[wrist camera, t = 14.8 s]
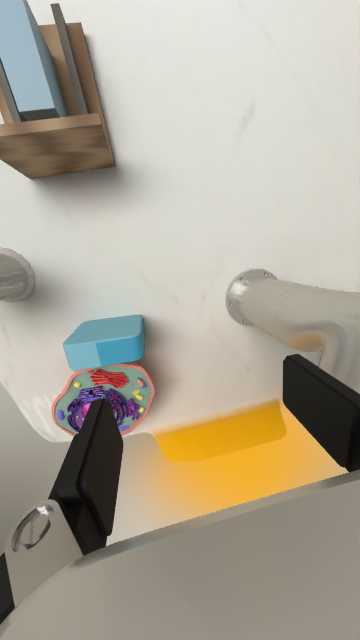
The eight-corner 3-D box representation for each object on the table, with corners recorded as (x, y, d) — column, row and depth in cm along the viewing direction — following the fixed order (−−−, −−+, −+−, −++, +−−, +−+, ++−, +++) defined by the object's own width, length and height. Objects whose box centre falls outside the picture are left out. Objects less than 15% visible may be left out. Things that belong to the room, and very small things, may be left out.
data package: (88, 341, 42) (67, 372, 31) (82, 321, 41) (58, 346, 30) (144, 333, 44) (144, 360, 33) (141, 313, 42) (140, 334, 31)
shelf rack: (84, 34, 29) (46, -101, 18) (115, 166, 34) (101, 124, 23) (-21, 42, 27) (-130, -98, 16) (29, 178, 32) (-29, 139, 22)
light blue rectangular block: (52, 55, 28) (17, -19, 20) (76, 143, 31) (54, 107, 23) (22, 58, 27) (-26, -17, 20) (50, 147, 31) (19, 111, 23)
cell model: (168, 380, 48) (174, 415, 38) (100, 424, 49) (88, 470, 38) (125, 327, 43) (118, 350, 32) (49, 377, 43) (17, 417, 33)
